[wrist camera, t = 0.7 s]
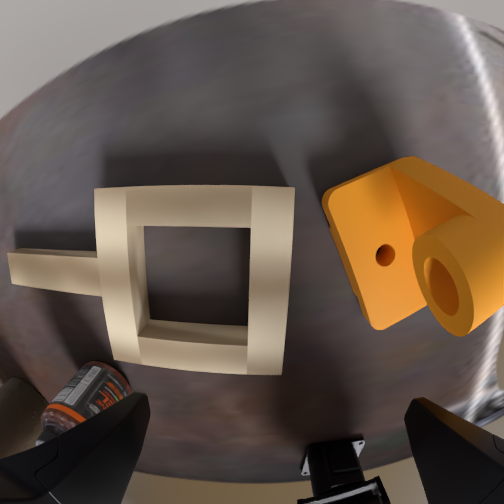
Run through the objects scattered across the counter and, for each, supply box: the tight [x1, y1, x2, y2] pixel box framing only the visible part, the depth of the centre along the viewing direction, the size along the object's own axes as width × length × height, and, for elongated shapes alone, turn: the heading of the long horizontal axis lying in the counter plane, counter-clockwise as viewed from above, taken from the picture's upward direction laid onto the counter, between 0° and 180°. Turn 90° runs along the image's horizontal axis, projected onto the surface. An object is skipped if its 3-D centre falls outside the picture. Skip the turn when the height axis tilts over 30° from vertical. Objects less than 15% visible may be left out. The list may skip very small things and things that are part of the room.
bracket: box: [322, 156, 504, 336], centre depth 14 cm, size 11×7×12 cm, turn 25°
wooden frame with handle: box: [7, 185, 295, 375], centre depth 19 cm, size 13×25×3 cm, turn 88°
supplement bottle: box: [36, 361, 131, 446], centre depth 18 cm, size 6×6×11 cm
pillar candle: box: [0, 377, 49, 459], centre depth 18 cm, size 10×10×15 cm
